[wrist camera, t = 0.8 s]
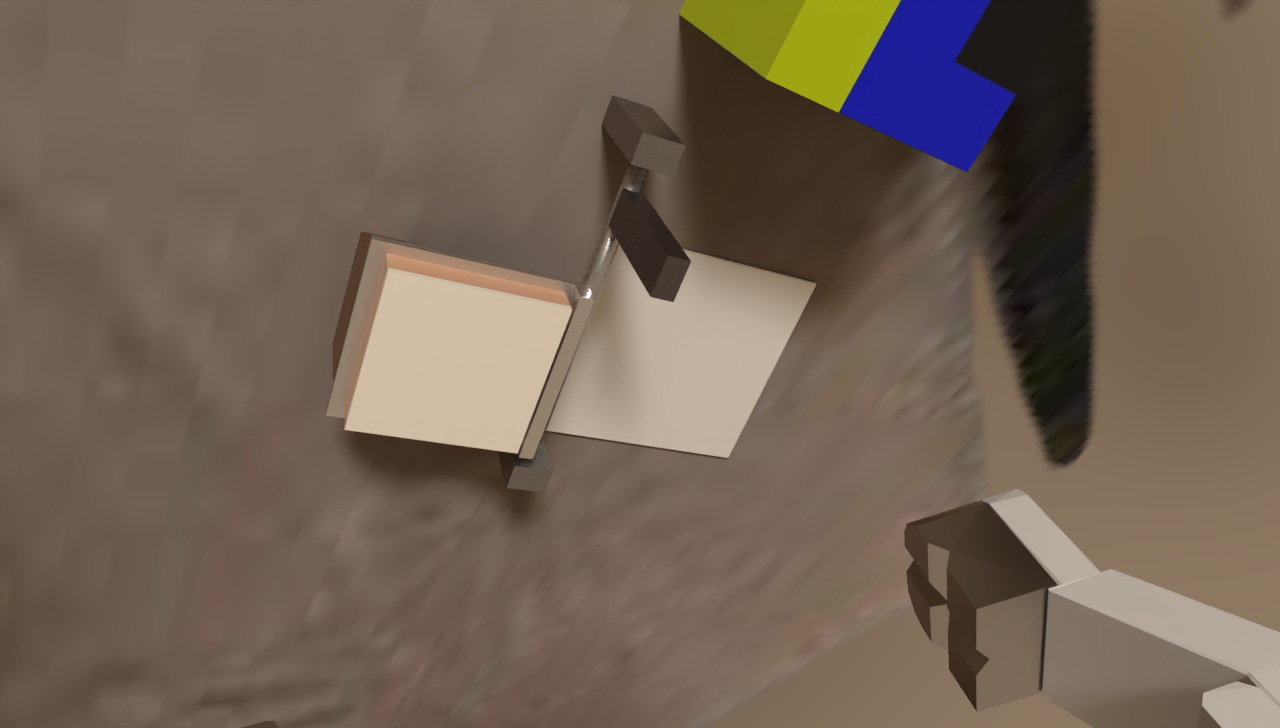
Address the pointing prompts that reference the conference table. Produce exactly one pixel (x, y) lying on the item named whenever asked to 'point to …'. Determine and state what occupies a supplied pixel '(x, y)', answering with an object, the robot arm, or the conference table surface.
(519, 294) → the tile
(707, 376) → the mat
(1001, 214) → the conference table surface
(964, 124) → the puzzle toy
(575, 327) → the flipper
